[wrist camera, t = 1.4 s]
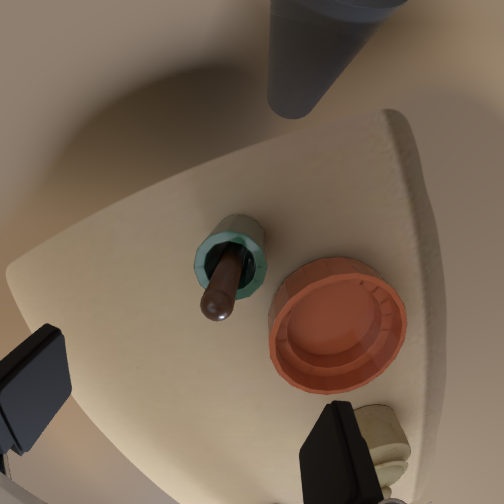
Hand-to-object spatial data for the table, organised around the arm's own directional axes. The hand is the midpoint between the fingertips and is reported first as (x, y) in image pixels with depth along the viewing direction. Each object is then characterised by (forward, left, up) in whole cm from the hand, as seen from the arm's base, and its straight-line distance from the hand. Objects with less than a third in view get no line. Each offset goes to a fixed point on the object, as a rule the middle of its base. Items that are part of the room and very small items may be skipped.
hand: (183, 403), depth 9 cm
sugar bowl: (+26, +24, -23) cm, 42 cm away
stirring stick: (0, 0, -22) cm, 22 cm away
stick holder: (0, 0, -23) cm, 23 cm away
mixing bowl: (+6, +12, -23) cm, 26 cm away
